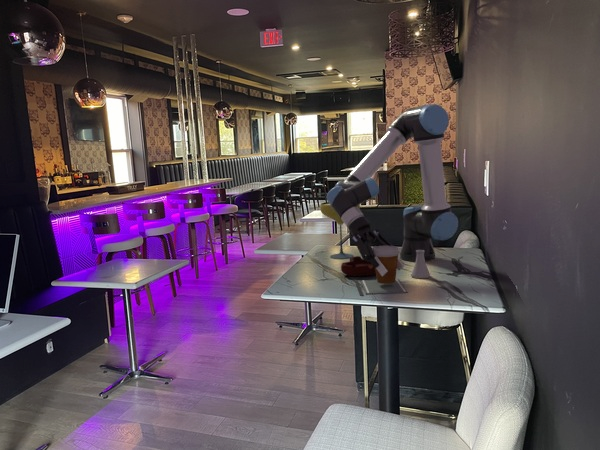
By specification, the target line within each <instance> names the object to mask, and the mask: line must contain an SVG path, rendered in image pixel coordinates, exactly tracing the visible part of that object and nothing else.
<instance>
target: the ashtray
mask: <svg viewBox="0 0 600 450" xmlns="http://www.w3.org/2000/svg"><path fill="white" fill-rule="evenodd" d="M340 271H341V273H343V275H345V276H346V277H347V278H348V277H349V278H350V277H360V276H361V277H363V276H376V270H375V267H374V266H373V264H372V263H371V262H369V263H368V262H367V260H366V261H364V260H363V258H362V256H361V255H360V256H359V255H356V256H353V257H352V258H349V261H347V262H342V263H341V265H340Z"/></svg>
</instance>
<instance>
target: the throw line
mask: <svg viewBox="0 0 600 450" xmlns="http://www.w3.org/2000/svg"><path fill="white" fill-rule="evenodd" d="M354 283H355V285H356V288H357V291H358V295H359V297H364V293H363V290H362V287H361V285H360V282H359V279H355V280H354Z"/></svg>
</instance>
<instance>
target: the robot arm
mask: <svg viewBox="0 0 600 450" xmlns="http://www.w3.org/2000/svg"><path fill="white" fill-rule="evenodd" d="M449 125H450V117H449V114H448V112H447V110H446V109H445V108H443V107H442V106H441V105H439V104H433V103H432V104H425V105H420V106H416V107H415V106H414V107H410V108H408V109H406V110H405V111H403V112H402V113H401V114H399V115H398V116H397V118H395V119H394V120H393V122H392V123H391V124H390V125H389V126H388V127H387V129H386V133H385V134H384V135H383V137H382V138H380V140H379V141H378V142H377V143H376V144H375V145H374V146H373V148H372V149H371V150H370V151H369V152H368V153H367V154H366V155H365V156H364V157H363V158H362V160H361V161H360V162H359V163H358V164H357V165H356V166H355V167H354V169H352V171H351V172H350V173H349V174H348V175H347V176H346V177H345V178H344V179H342V180H339V181H337V183H335V185H334V187H333V188H331V189H330V190H329V191H328V192H327V194H326V200H327V202H329V204H330V205H331V207H332V208H333V209H334V210H335V212H336V213H337V214H338V216H339V217H340V218H341V219H342V221H343V222H344V223H343V225H345V226H346V227H347V228H348V231H349V232H350V233H351V235H352V236H353V237H351V241H352V242H353V243H354V244H355V246H356V248H357V250H358V252H359V254H360V257H361V259H363V260H364V261H366V260H367V262H368V263H369V262H371V263H372V264H373V266H374V267H375V268H376V269H377V270H378V272H379V273H380V274H381V276H384V275H385V274H386V273H387V272H388V271H387V269H386V268H385V267H384V265H383V264H382V263H381V262H380V260H379V259H378V258H377V256H376V257H375V258H374V254H373V247H372V245H375V247H377V246H394V244H392V242H390V241H389V240H388V238H387V237H385V236H384V235H383V233H382V232H381V231H380V230H379V229H375V230H373V229H372V228H371V223H370V221H369V220H368V219H367V218H366V217H365V216H364V213H363V212H362V210H361V209H360V210H359V208H358V207H357V206H358V205H359V204H360V205H361V204H364V203H366V202H367V201H369V200H371V199H373V198H375V197H377V195H379V193H380V187H379V184H378V182H377V180H375V179H374V178H373V176H375V175H374V174H375V173H377V171H378V170H379V169H380V168H381V167H382V166H383V165H384V163H386V161H388V159H389V158H390V157H391V156H392V155H393V153H394V152H395V151H396V150H397V149H398V148H399V147H400V146H401V145H402V146H403V145H405V144H406V143H407V142H408V141H409V140H410V139H412V138H413V142H414V144H416V145H417V146H418V155H419V165H420V173H421V174H420V175H421V184H422V192H423V202H424V203H423V205H421V206H410V207H405V208H404V209H403V215H402V217H403V242H402V246H401V248H400V252H399V257H398V261H397V270H398V271H401V270H402V269H403V267H404V266H405V265H404V263H403V262H402V261H401V260H403V261H409V262H416V257H417V252H416V250H424V251H425V252H424V259H425V262H429V261H433V260H435V259H436V251H435V249H434V246H433V242H432V240H433V239H434V240H435V241H446V240H449V239H451V238H452V237H453V236H454V235H455V233H457V230H458V227H459V219H458V217H457V215H455V213H453V212H452V207H451V204H450V203H448V202H447V195H446V186H445V185H446V184H445V174H444V163H443V155H442V154H443V153H442V145H441V144H442V142H443V140H444V139H445V132H446V131H447V129H448V127H449ZM371 244H372V245H371ZM398 271H397V272H398Z"/></svg>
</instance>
